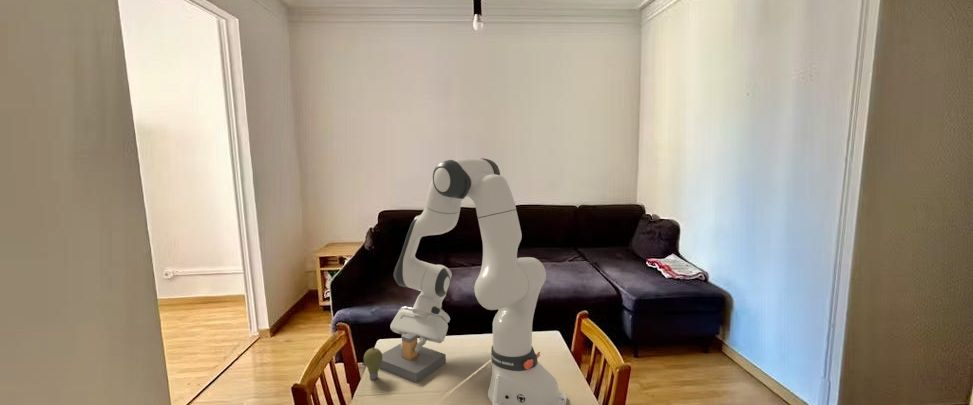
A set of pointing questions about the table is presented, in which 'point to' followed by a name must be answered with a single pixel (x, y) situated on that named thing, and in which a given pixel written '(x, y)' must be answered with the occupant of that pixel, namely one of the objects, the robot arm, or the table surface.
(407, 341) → the plug
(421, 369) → the grey block with hole
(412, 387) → the table surface
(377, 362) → the light bulb
